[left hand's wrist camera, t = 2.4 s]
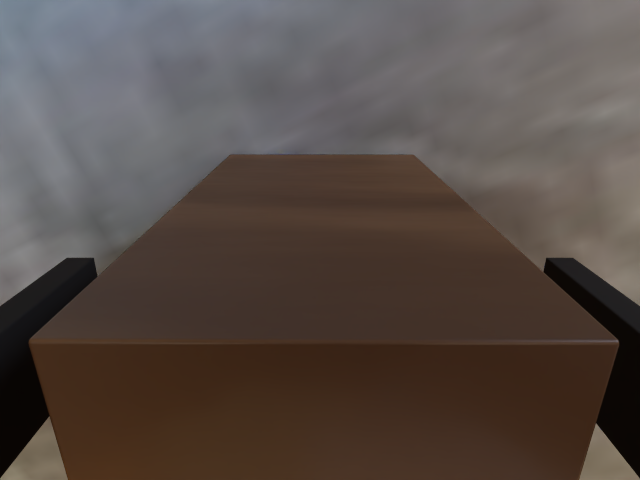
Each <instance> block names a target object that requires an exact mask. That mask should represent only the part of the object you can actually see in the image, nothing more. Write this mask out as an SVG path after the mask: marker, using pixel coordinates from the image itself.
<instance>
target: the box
mask: <svg viewBox="0 0 640 480" xmlns="http://www.w3.org/2000/svg"><path fill="white" fill-rule="evenodd" d="M29 347H30V350H31V354H32V357H33V361H34V364H35V367H36V371H37V374H38V378H39V381H40V385H41V388H42V391H43V395H44V398H45V402H46V405H47V409H48V412H49V416H50V419H51V422H52V426H53V429H54V433H55V436H56V440H57V443H58V446H59V450H60V453H61V457H62V460H63V464H64V467H65V470H66V474H67V477H68V480H579V478H580V474H581V471H582V468H583V464H584V461H585V458H586V454H587V451H588V448H589V444H590V441H591V438H592V434H593V431H594V428H595V424H596V421H597V418H598V414H599V411H600V407H601V404H602V401H603V397H604V394H605V391H606V387H607V384H608V381H609V377H610V374H611V371H612V367H613V364H614V361H615V357H616V354H617V351H618V347H619V341H618V339H617V338H616V337H614V336H613V335H612V334H611V333H610V332H609V331H608V330H607V329H606V328H605V327H603V326H602V325H601V324H600V323H599V322H598V321H597V320H596V319H595V318H593V317H592V316H591V315H590V314H589V313H588V312H587V311H586V310H585V309H584V308H582V307H581V306H580V305H579V304H578V303H577V302H576V301H575V300H574V299H572V298H571V297H570V296H569V295H568V294H567V293H566V292H565V291H564V290H563V289H561V288H560V287H559V286H558V285H557V284H556V283H555V282H554V281H553V280H551V279H550V278H549V277H548V276H547V275H546V274H545V273H544V272H543V271H541V270H540V269H539V268H538V267H537V266H536V265H535V264H534V263H533V262H532V261H530V260H529V259H528V258H527V257H526V256H525V255H524V254H523V253H522V252H520V251H519V250H518V249H517V248H516V247H515V246H514V245H513V244H512V243H511V242H509V241H508V240H507V239H506V238H505V237H504V236H503V235H502V234H501V233H499V232H498V231H497V230H496V229H495V228H494V227H493V226H492V225H491V224H490V223H488V222H487V221H486V220H485V219H484V218H483V217H482V216H481V215H480V214H478V213H477V212H476V211H475V210H474V209H473V208H472V207H471V206H470V205H468V204H467V203H466V202H465V201H464V200H463V199H462V198H461V197H460V196H459V195H457V194H456V193H455V192H454V191H453V190H452V189H451V188H450V187H449V186H447V185H446V184H445V183H444V182H443V181H442V180H441V179H440V178H439V177H438V176H436V175H435V174H434V173H433V172H432V171H431V170H430V169H429V168H428V167H426V166H425V165H424V164H423V163H422V162H421V161H420V160H419V159H418V158H417V157H415V156H414V155H230V156H229V157H227V158H226V159H225V160H224V161H223V162H222V163H221V164H220V165H219V166H218V167H217V168H215V169H214V170H213V171H212V172H211V173H210V174H209V175H208V176H207V177H206V178H205V179H203V180H202V181H201V182H200V183H199V184H198V185H197V186H196V187H195V188H194V189H193V190H191V191H190V192H189V193H188V194H187V195H186V196H185V197H184V198H183V199H182V200H181V201H180V202H178V203H177V204H176V205H175V206H174V207H173V208H172V209H171V210H170V211H169V212H168V213H166V214H165V215H164V216H163V217H162V218H161V219H160V220H159V221H158V222H157V223H156V224H154V225H153V226H152V227H151V228H150V229H149V230H148V231H147V232H146V233H145V234H144V235H142V236H141V237H140V238H139V239H138V240H137V241H136V242H135V243H134V244H133V245H132V246H130V247H129V248H128V249H127V250H126V251H125V252H124V253H123V254H122V255H121V256H120V257H118V258H117V259H116V260H115V261H114V262H113V263H112V264H111V265H110V266H109V267H108V268H106V269H105V270H104V271H103V272H102V273H101V274H100V275H99V276H98V277H97V278H96V279H94V280H93V281H92V282H91V283H90V284H89V285H88V286H87V287H86V288H85V289H84V290H82V291H81V292H80V293H79V294H78V295H77V296H76V297H75V298H74V299H73V300H72V301H70V302H69V303H68V304H67V305H66V306H65V307H64V308H63V309H62V310H61V311H60V312H58V313H57V314H56V315H55V316H54V317H53V318H52V319H51V320H50V321H49V322H48V323H46V324H45V325H44V326H43V327H42V328H41V329H40V330H39V331H38V332H37V333H36V334H35V335H33V336H32V337H31V338H30V340H29Z"/></svg>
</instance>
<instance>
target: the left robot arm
mask: <svg viewBox="0 0 640 480" xmlns="http://www.w3.org/2000/svg"><path fill="white" fill-rule="evenodd" d="M544 273H545V274H546V275H547V276H548V277H549V278H550V279H551V280H553V281H554V282H555V283H556V284H557V285H558V286H559V287H560V288H561V289H563V290H564V291H565V292H566V293H567V294H568V295H569V296H570V297H571V298H572V299H574V300H575V301H576V302H577V303H578V304H579V305H580V306H581V307H582V308H584V309H585V310H586V311H587V312H588V313H589V314H590V315H591V316H592V317H593V318H595V319H596V320H597V321H598V322H599V323H600V324H601V325H602V326H603V327H605V328H606V329H607V330H608V331H609V332H610V333H611V334H612V335H613V336H614V337H616V338H617V339H618V341H619V347H618V351H617V354H616V357H615V361H614V364H613V367H612V371H611V374H610V377H609V381H608V384H607V387H606V391H605V394H604V397H603V401H602V404H601V407H600V411H599V414H598V418H597V421H596V423H597V425H598V426H599V427H600V428H601V430H602V431H603V432H604V434H605V435H606V436H607V437H608V439H609V440H610V441H611V442H612V444H613V445H614V446H615V447H616V449H617V450H618V451H619V452H620V454H621V455H622V456H623V457H624V459H625V460H626V461H627V463H628V464H629V465H630V466H631V468H632V469H633V470H634V471H635V473H636V474H637V475H638V476H639V478H640V306H639V305H637V304H636V303H634V302H633V301H632V300H630V299H629V298H628V297H626V296H625V295H623V294H622V293H621V292H619V291H618V290H617V289H615V288H614V287H612V286H611V285H610V284H608V283H607V282H606V281H604V280H603V279H601V278H600V277H599V276H597V275H596V274H594V273H593V272H592V271H590V270H589V269H588V268H586V267H585V266H583V265H582V264H581V263H579V262H578V261H577V260H575V259H574V258H546V262H545V267H544ZM96 278H97V272H96V267H95V262H94V258H66V259H65V260H63V261H62V262H61V263H59V264H58V265H57V266H55V267H54V268H52V269H51V270H50V271H48V272H47V273H46V274H44V275H43V276H41V277H40V278H39V279H37V280H36V281H35V282H33V283H32V284H30V285H29V286H28V287H26V288H25V289H23V290H22V291H21V292H19V293H18V294H17V295H15V296H14V297H12V298H11V299H10V300H8V301H7V302H6V303H4V304H3V305H1V306H0V478H1V476H2V475H3V474H4V473H5V471H6V470H7V469H8V468H9V466H10V465H11V464H12V463H13V461H14V460H15V459H16V458H17V456H18V455H19V454H20V452H21V451H22V450H23V449H24V447H25V446H26V445H27V444H28V442H29V441H30V440H31V439H32V437H33V436H34V435H35V434H36V432H37V431H38V430H39V428H40V427H41V426H42V425H43V423H44V422H45V421H46V420H47V418H48V417H49V412H48V409H47V405H46V402H45V398H44V395H43V391H42V388H41V385H40V381H39V378H38V374H37V371H36V367H35V364H34V361H33V357H32V354H31V350H30V347H29V340H30V338H31V337H32V336H33V335H35V334H36V333H37V332H38V331H39V330H40V329H41V328H42V327H43V326H44V325H45V324H46V323H48V322H49V321H50V320H51V319H52V318H53V317H54V316H55V315H56V314H57V313H58V312H60V311H61V310H62V309H63V308H64V307H65V306H66V305H67V304H68V303H69V302H70V301H72V300H73V299H74V298H75V297H76V296H77V295H78V294H79V293H80V292H81V291H82V290H84V289H85V288H86V287H87V286H88V285H89V284H90V283H91V282H92V281H93V280H94V279H96Z"/></svg>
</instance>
